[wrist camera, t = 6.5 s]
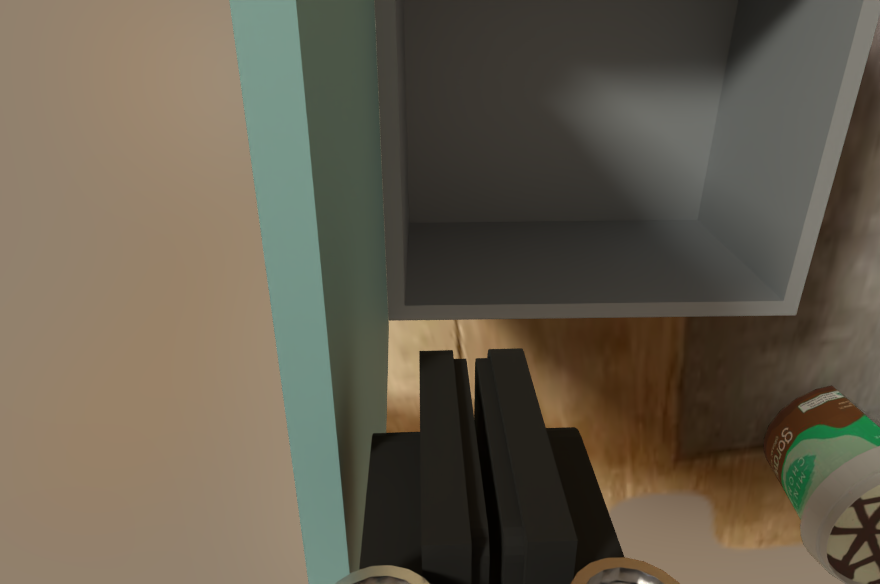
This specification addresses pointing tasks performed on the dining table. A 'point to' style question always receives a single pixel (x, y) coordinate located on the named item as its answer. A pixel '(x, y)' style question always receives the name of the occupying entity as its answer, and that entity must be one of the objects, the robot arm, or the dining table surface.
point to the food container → (831, 480)
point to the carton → (610, 153)
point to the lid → (321, 249)
